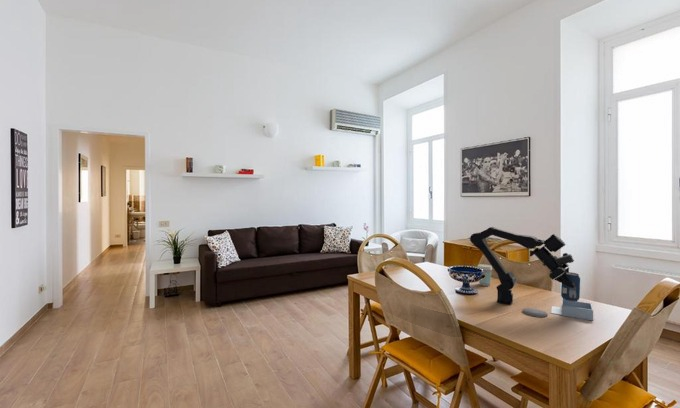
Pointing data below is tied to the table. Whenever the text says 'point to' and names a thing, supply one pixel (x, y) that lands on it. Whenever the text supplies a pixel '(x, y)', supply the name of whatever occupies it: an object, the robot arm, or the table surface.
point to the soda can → (569, 292)
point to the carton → (574, 309)
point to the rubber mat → (534, 312)
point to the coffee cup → (486, 274)
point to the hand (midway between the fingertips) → (574, 285)
